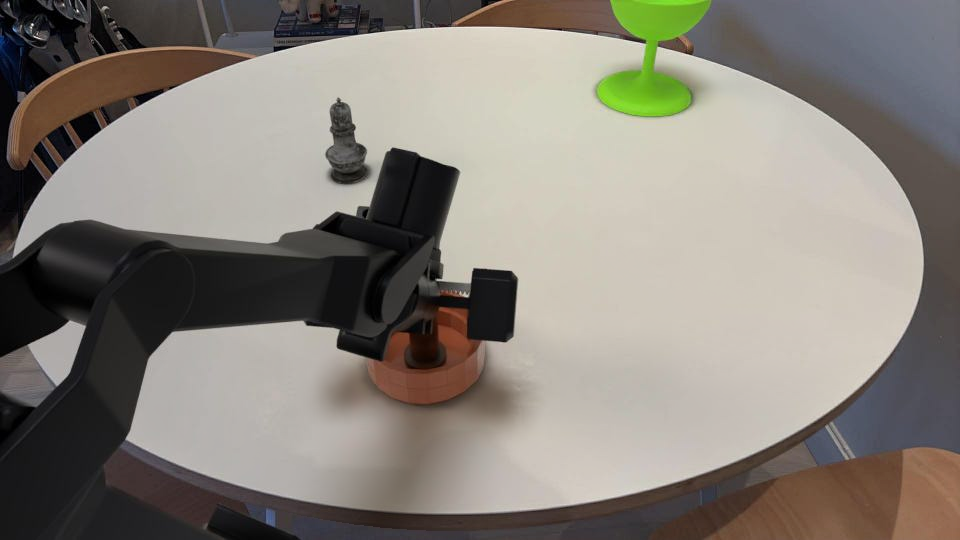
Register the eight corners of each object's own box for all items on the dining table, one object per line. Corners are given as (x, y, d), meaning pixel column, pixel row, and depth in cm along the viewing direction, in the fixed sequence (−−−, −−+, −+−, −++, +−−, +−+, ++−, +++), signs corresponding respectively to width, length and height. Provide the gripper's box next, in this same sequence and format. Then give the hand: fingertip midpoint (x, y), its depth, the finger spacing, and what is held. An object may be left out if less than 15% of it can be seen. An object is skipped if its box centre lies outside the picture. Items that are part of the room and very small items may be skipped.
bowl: (431, 428, 67) (428, 394, 63) (343, 368, 72) (336, 334, 69) (507, 354, 74) (509, 320, 71) (422, 305, 80) (419, 272, 77)
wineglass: (710, 106, 117) (736, -4, 105) (628, 124, 112) (645, 11, 100) (656, 68, 128) (674, -35, 116) (580, 83, 123) (590, -23, 112)
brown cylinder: (427, 380, 70) (419, 284, 62) (395, 360, 73) (384, 264, 64) (455, 355, 73) (452, 259, 65) (424, 336, 75) (416, 241, 67)
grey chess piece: (320, 177, 100) (306, 100, 92) (346, 159, 104) (335, 83, 96) (351, 189, 98) (340, 111, 90) (378, 170, 102) (369, 94, 94)
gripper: (520, 200, 54) (524, 229, 69) (287, 185, 56) (341, 216, 71) (509, 344, 53) (516, 341, 69) (272, 324, 55) (331, 325, 70)
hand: (425, 302), depth 70 cm, fingers open, 9 cm apart
